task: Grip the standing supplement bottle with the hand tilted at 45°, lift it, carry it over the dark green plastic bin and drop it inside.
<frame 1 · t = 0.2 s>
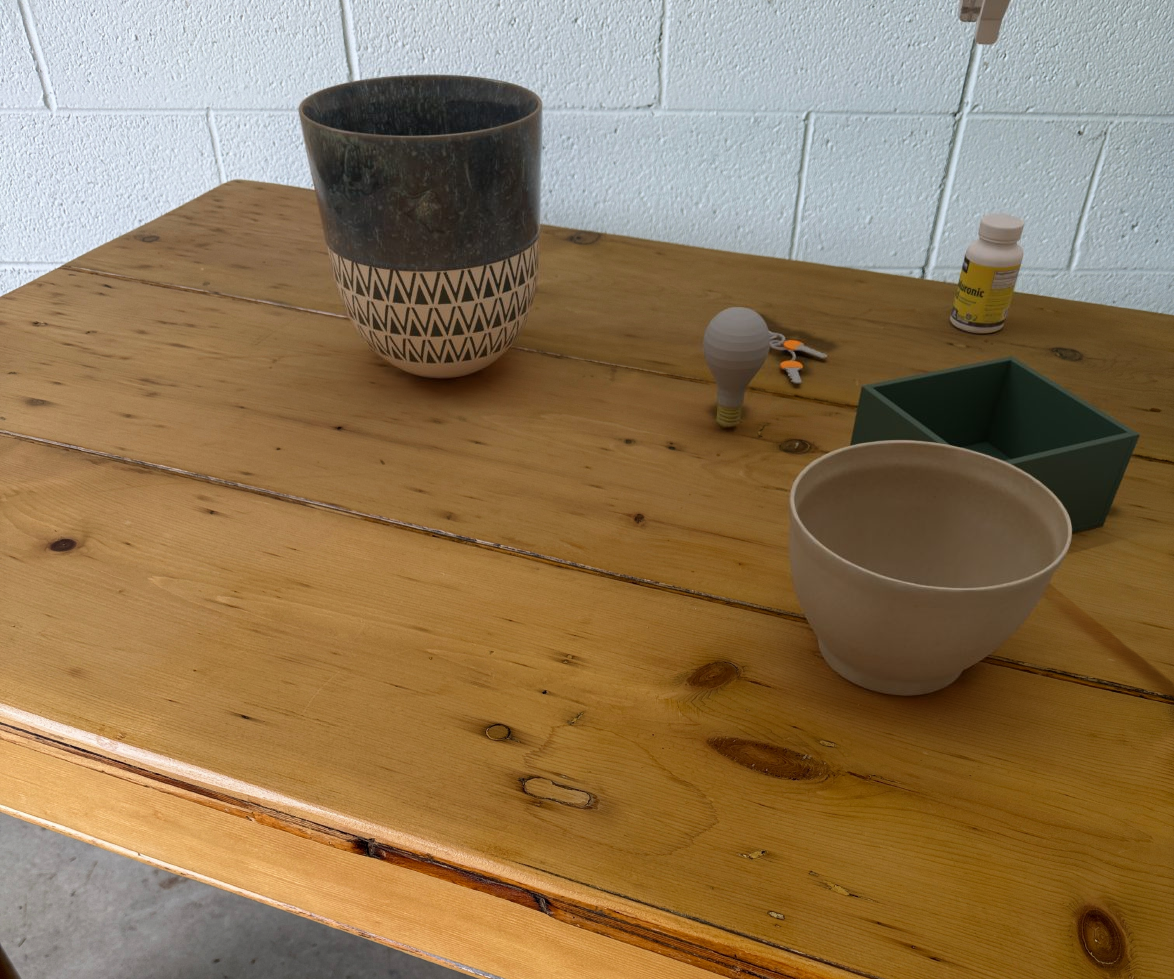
hand: (975, 31, 93), 24 cm above the table, tool pointing down, fingers open, 8 cm apart
planter: (445, 367, 100), on the table
key chain: (774, 356, 102), on the table
bin: (969, 499, 83), on the table
supplement bottle: (975, 326, 107), on the table
light bulb: (727, 428, 92), on the table
planter bowl: (889, 655, 69), on the table
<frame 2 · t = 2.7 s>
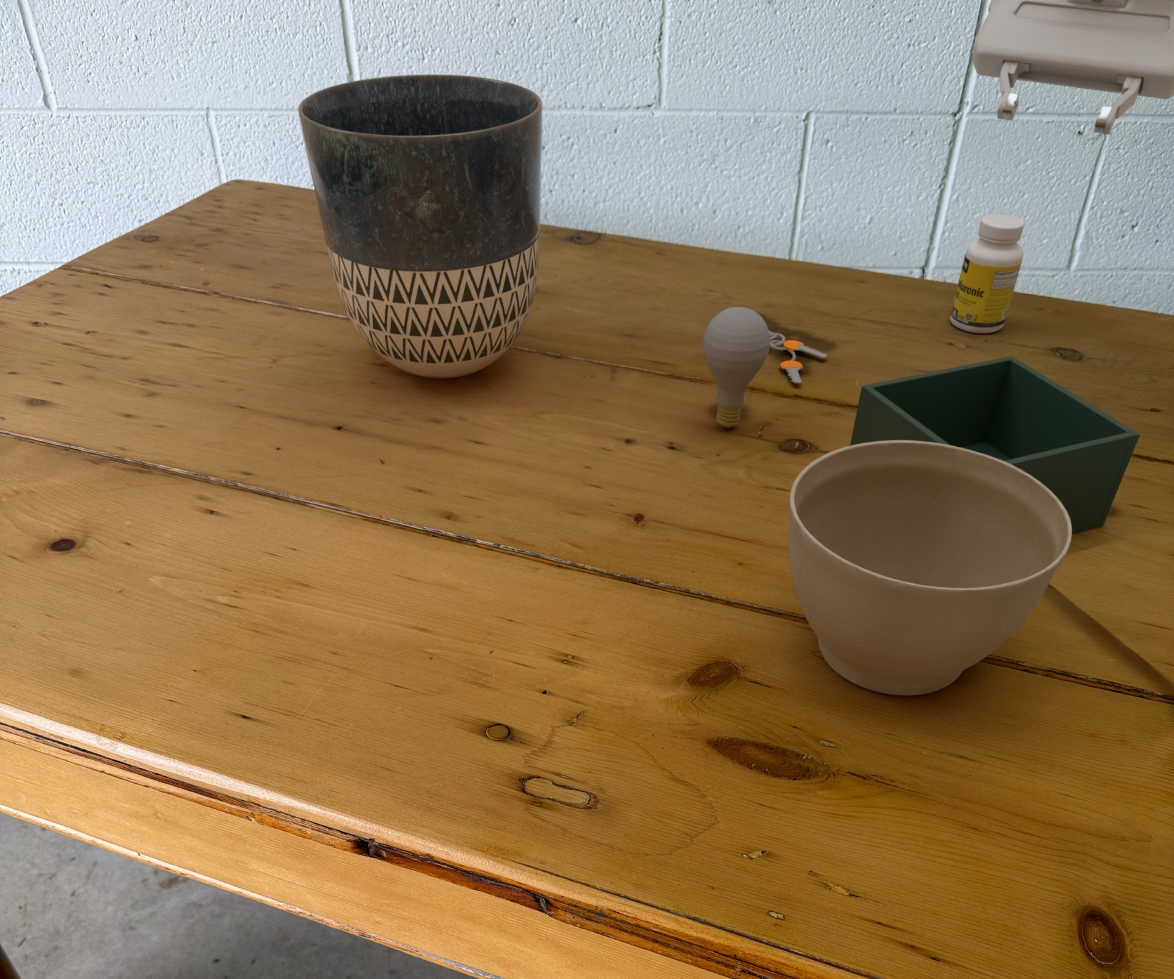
hand: (1052, 122, 104), 15 cm above the table, tool tilted 45°, fingers open, 8 cm apart
nothing on the table moved.
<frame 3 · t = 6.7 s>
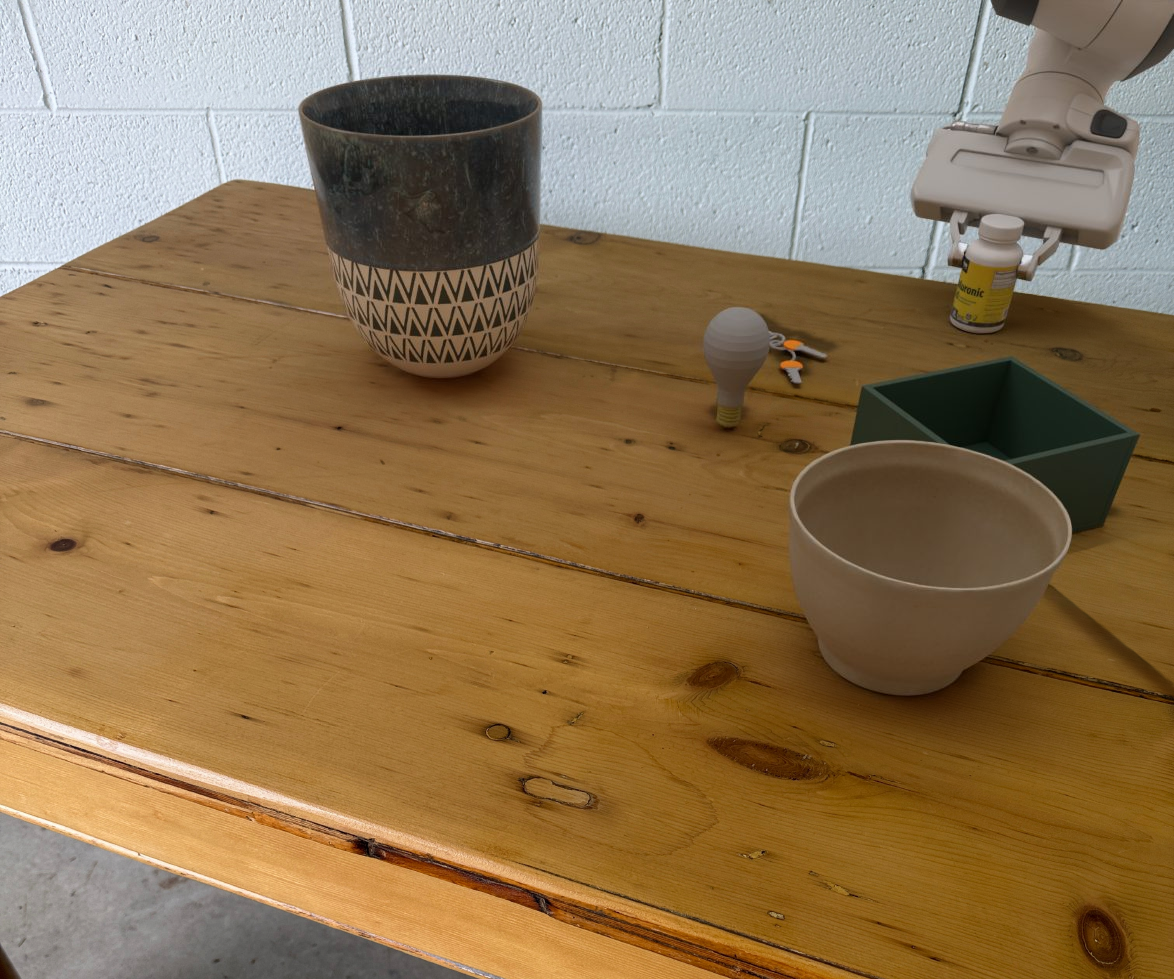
hand: (989, 271, 103), 5 cm above the table, tool tilted 45°, fingers closed on supplement bottle, 5 cm apart
supplement bottle: (975, 326, 107), on the table, touching gripper
everything else where it was.
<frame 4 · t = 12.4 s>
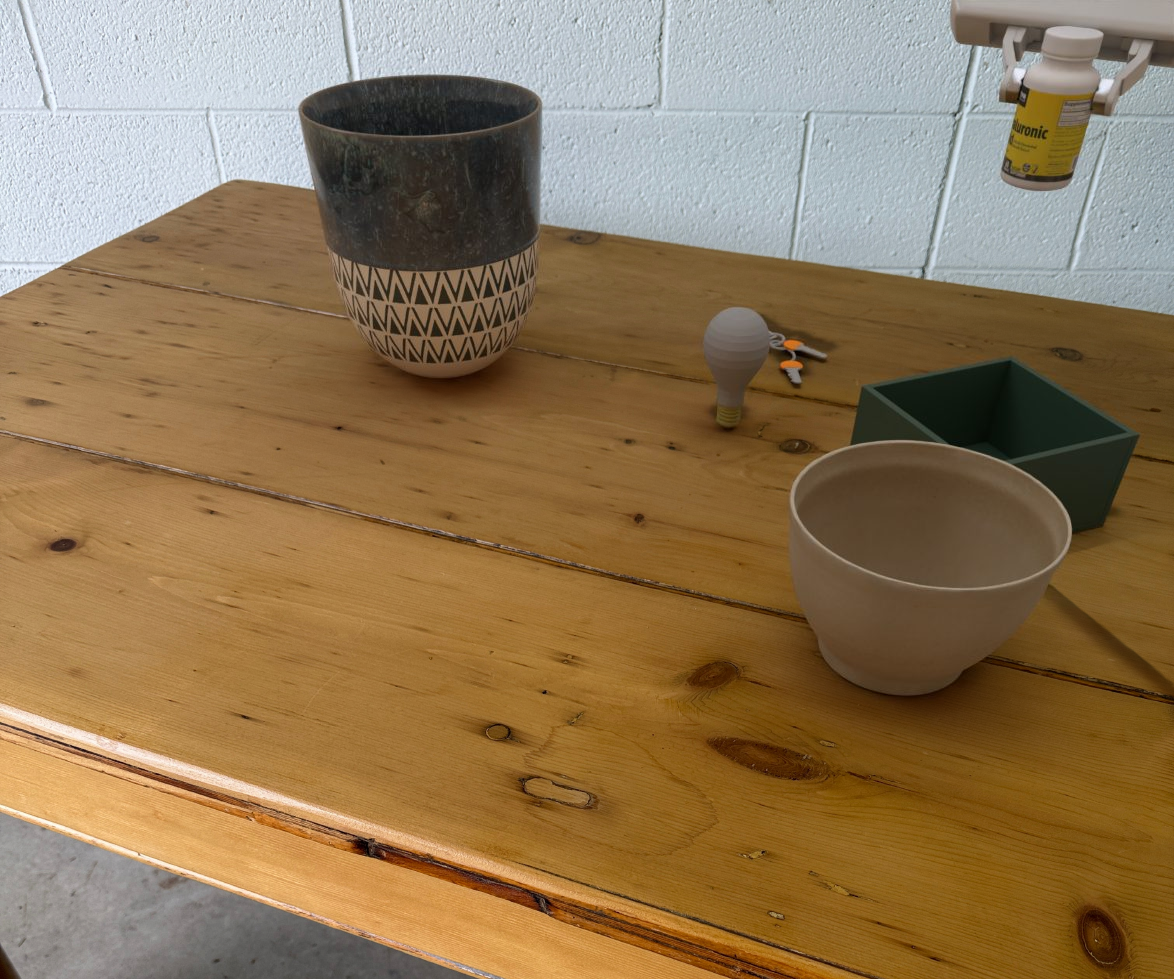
hand: (1054, 104, 78), 23 cm above the table, tool tilted 45°, fingers closed on supplement bottle, 5 cm apart
supplement bottle: (1033, 184, 83), point 18 cm above the table, touching gripper
everything else where it was.
when the fingers open (11 cm above the table, at t = 18.0 s): supplement bottle drops 5 cm, resting on bin.
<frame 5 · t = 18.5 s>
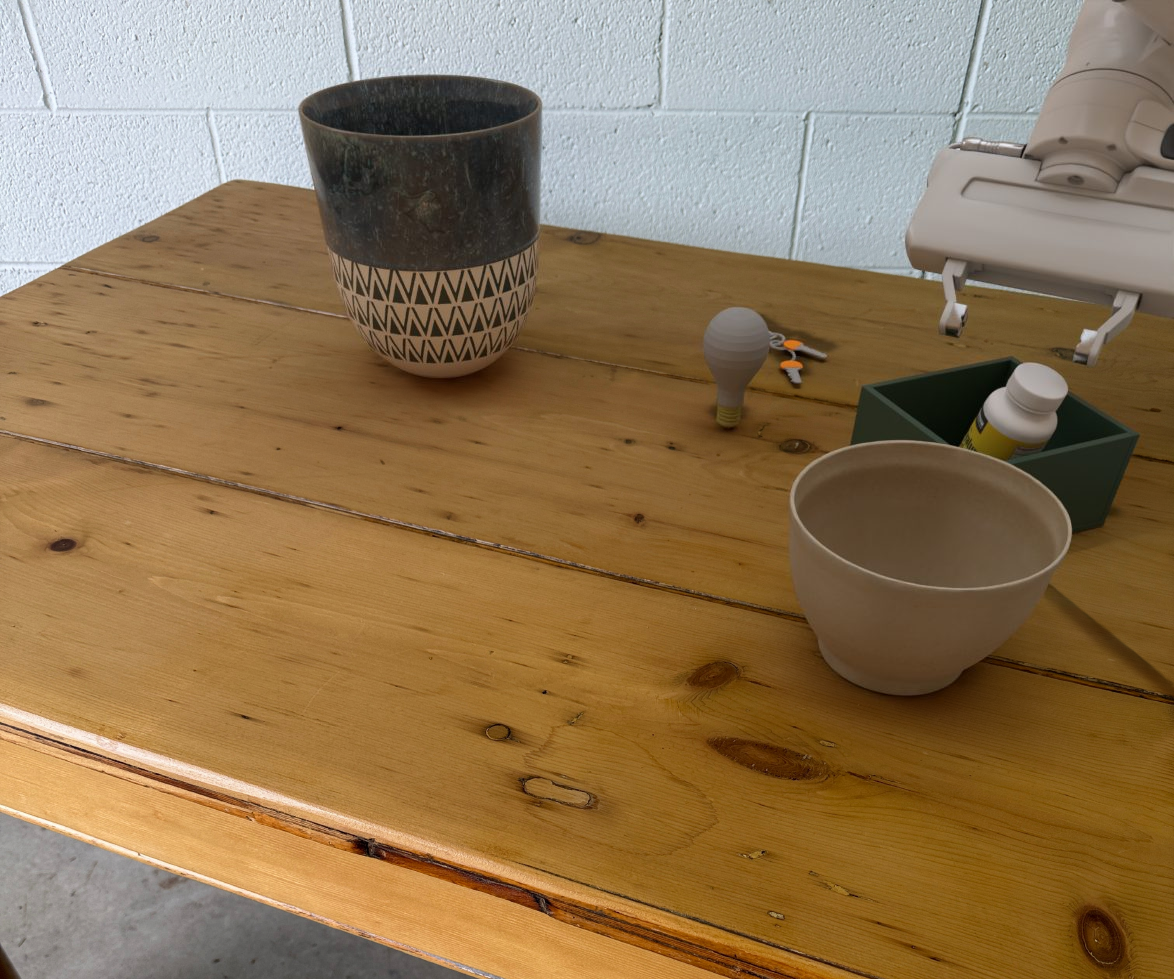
hand: (1014, 346, 74), 12 cm above the table, tool tilted 45°, fingers open, 8 cm apart
supplement bottle: (974, 488, 82), point 1 cm above the table, touching bin
everything else where it was.
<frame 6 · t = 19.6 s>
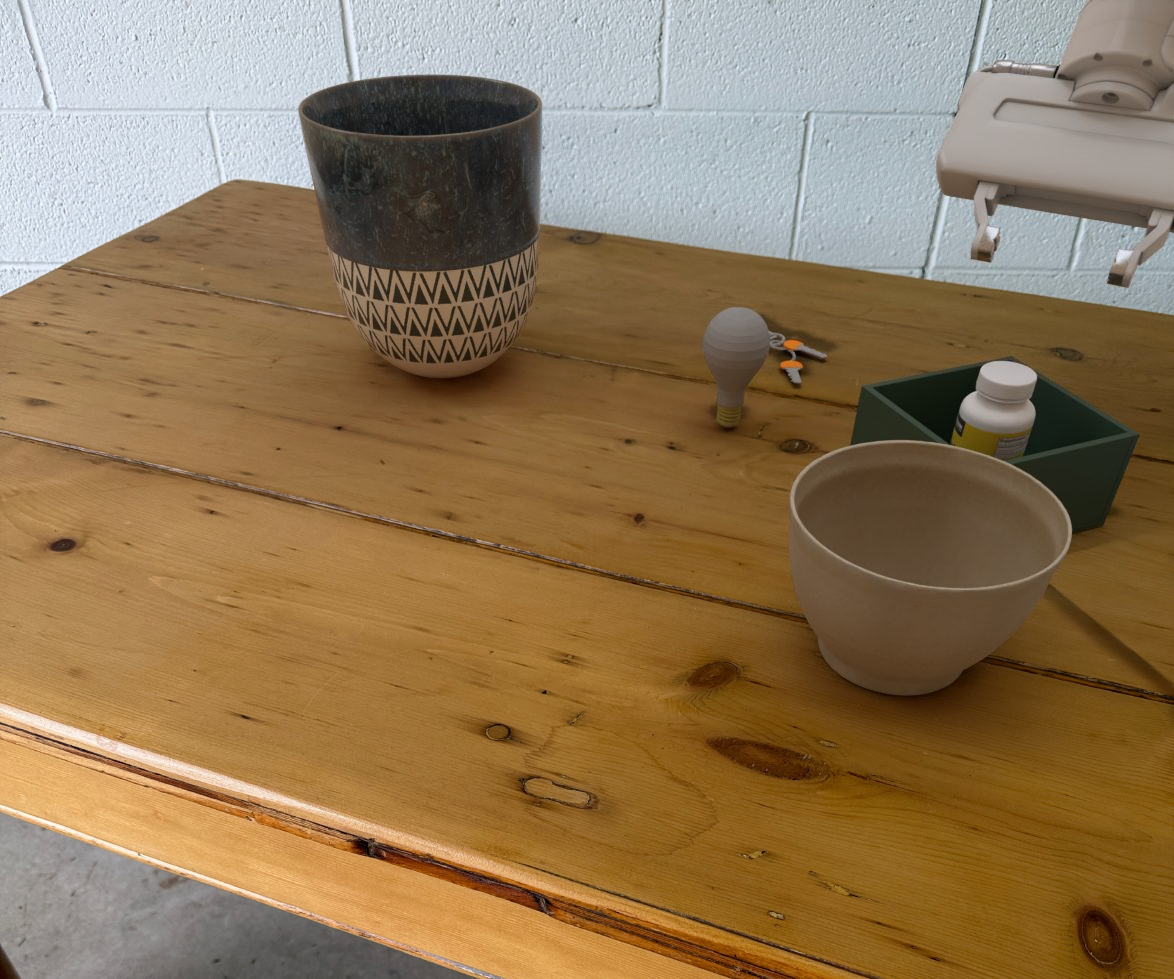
hand: (1047, 269, 73), 16 cm above the table, tool tilted 45°, fingers open, 8 cm apart
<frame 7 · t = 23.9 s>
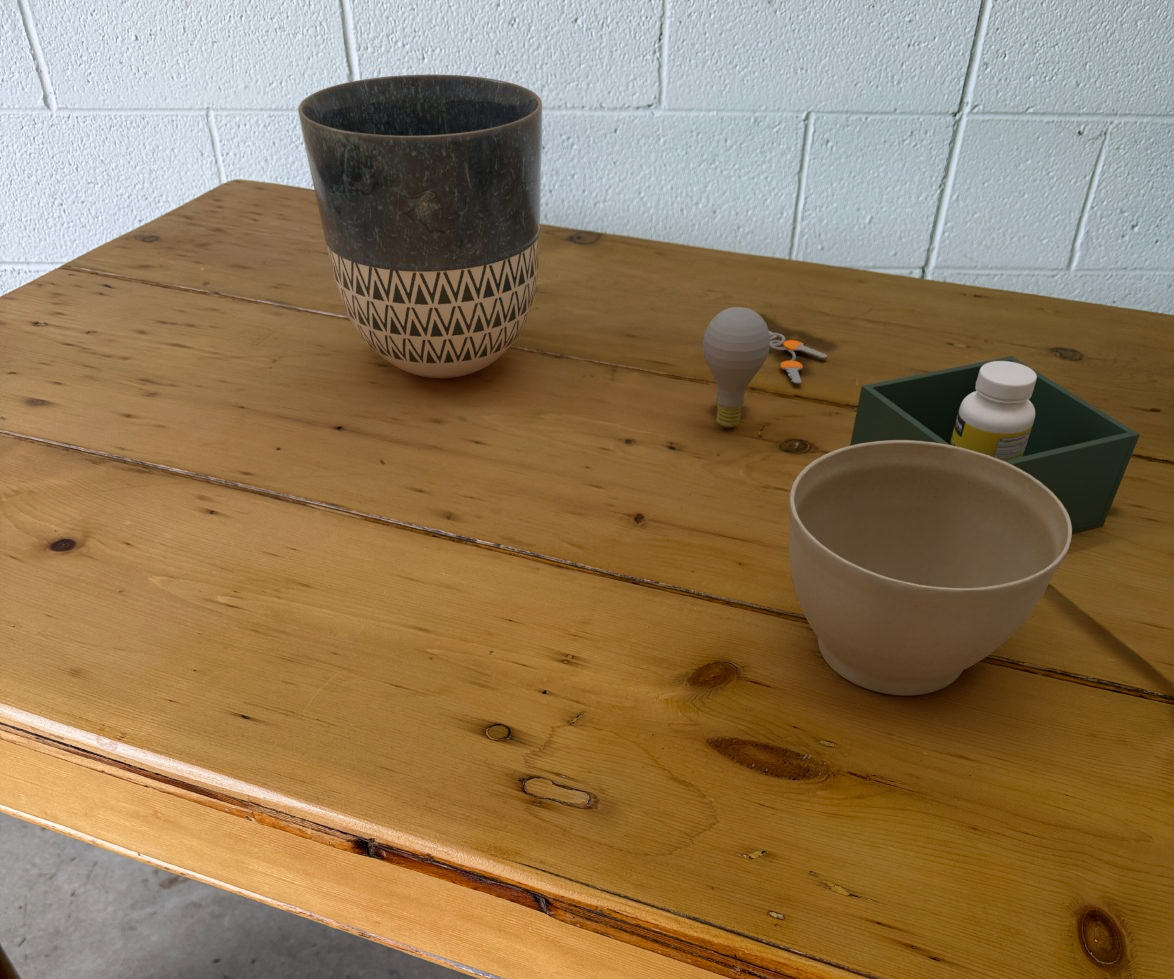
at the end: supplement bottle inside the target area in the bin (0.1 cm from its centre), point 0.3 cm above the bin's base; the gripper is holding nothing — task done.
